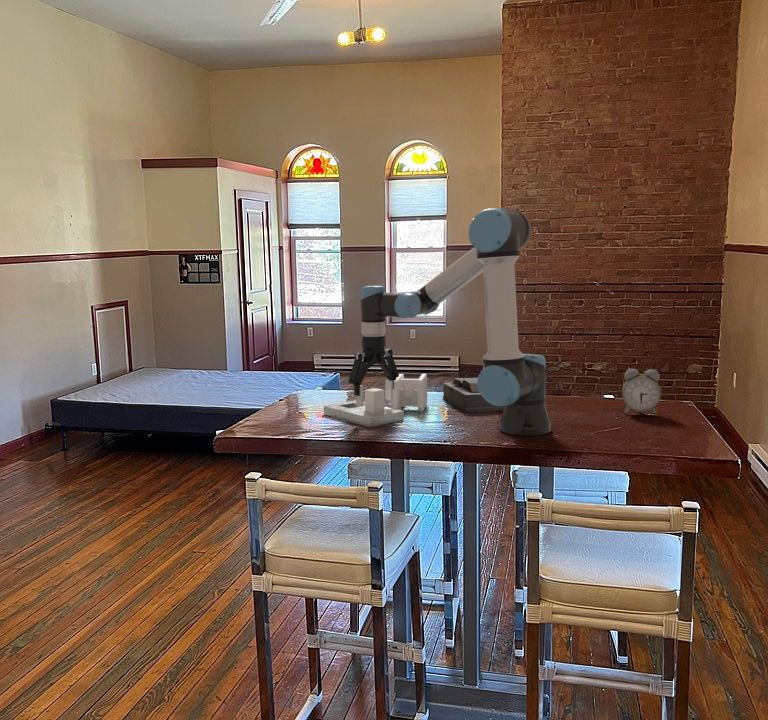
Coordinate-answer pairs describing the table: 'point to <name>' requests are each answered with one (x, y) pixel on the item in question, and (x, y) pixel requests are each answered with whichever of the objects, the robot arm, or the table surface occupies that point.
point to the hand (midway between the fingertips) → (374, 402)
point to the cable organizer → (410, 392)
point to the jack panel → (362, 414)
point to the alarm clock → (641, 390)
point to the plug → (374, 401)
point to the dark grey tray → (467, 396)
